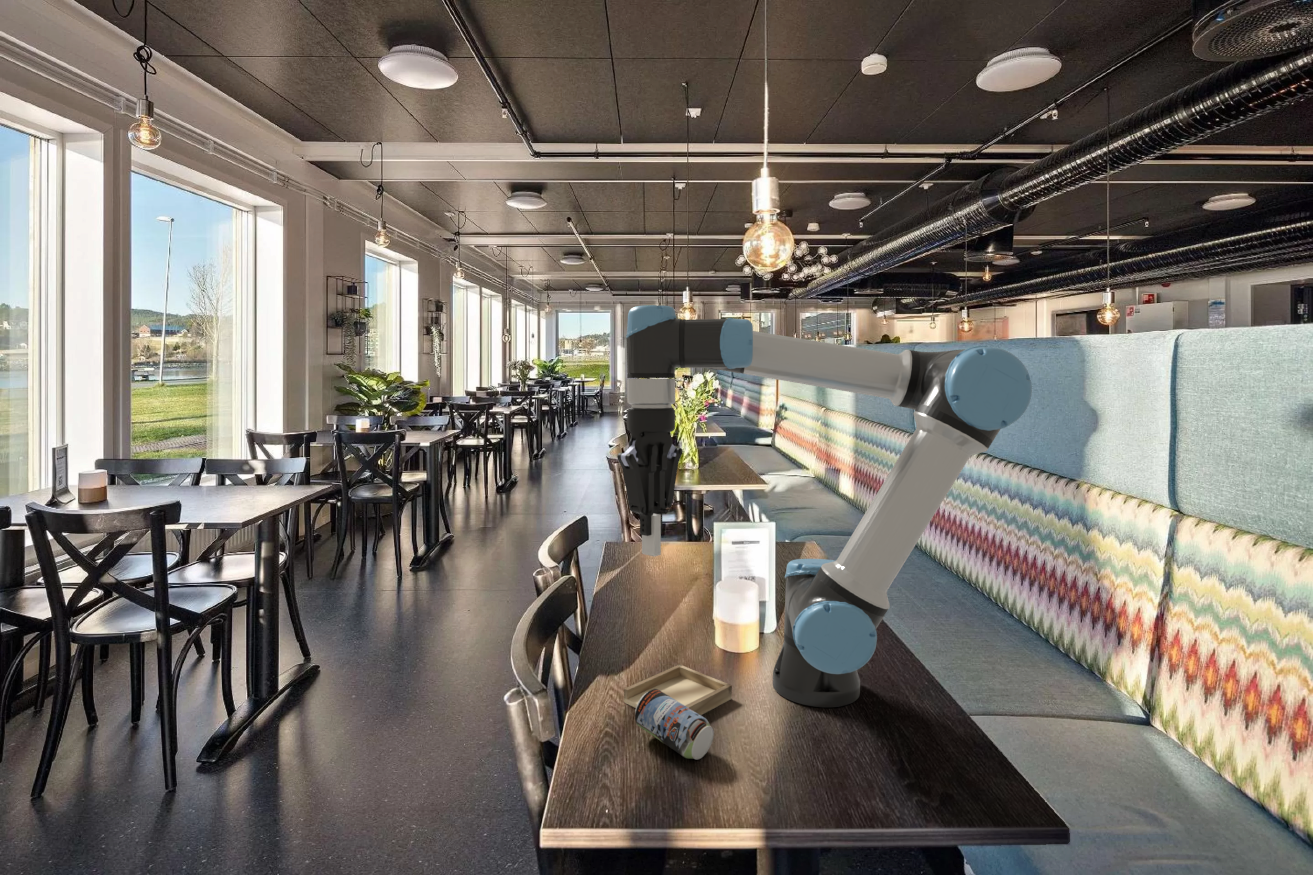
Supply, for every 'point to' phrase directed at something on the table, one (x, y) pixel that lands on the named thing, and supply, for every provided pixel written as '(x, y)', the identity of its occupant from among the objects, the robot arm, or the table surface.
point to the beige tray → (683, 689)
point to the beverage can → (674, 724)
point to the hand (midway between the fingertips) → (651, 554)
